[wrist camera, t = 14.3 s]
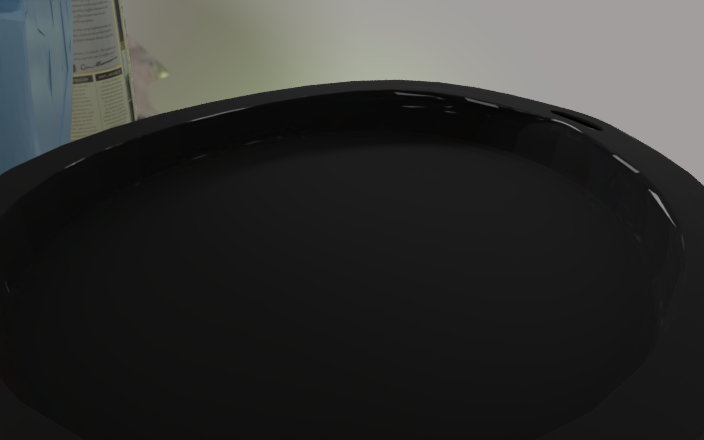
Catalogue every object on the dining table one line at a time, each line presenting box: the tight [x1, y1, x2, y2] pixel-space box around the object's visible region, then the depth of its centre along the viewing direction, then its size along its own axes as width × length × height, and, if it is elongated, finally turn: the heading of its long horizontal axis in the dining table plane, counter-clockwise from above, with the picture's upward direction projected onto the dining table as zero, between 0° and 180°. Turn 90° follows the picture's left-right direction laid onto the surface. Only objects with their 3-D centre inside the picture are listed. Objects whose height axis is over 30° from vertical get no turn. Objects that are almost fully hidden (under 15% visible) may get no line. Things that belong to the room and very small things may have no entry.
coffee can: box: [70, 0, 138, 142], centre depth 49 cm, size 10×10×14 cm
